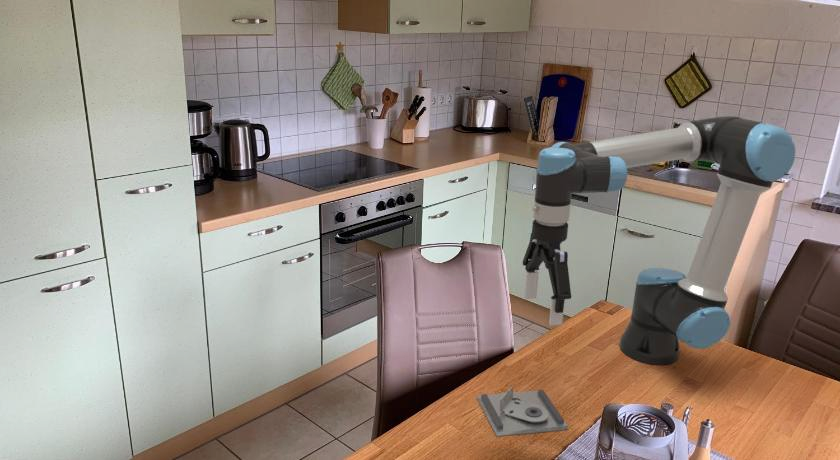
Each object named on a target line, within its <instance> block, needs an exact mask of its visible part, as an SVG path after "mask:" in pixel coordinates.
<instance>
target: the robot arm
mask: <svg viewBox="0 0 840 460" xmlns="http://www.w3.org/2000/svg"><path fill="white" fill-rule="evenodd" d="M795 158H796V146H795V142H794V141H793V136H791V135H790V133H789V132H788V131H787V130H786V129H784V128H782V127H779V126H776V125H775V124H774V125H773V124H771V123H767V122H761V121H756V120H751V119H746V118H742V117H738V116H735V115H734V116H732V115H731V116H717V117H716V116H715V117H710V118H703V119H697V120H692V121H690V120H689V121H686V122H683V123H681V124H680V125H678V127H675V128H669V129H662V130H657V131H649V132H645V133H643V132H642V133H638V134H631V135H625V136H620V137H619V136H618V137H613V138H605V139H600V140H593V141H588V142H582V143H581V142H580V143H571V142H567V141H566V142H565V141H558V142H556V143H554V144H553V145H552V146H551V147H545V148H543V149H542V150H540V152H539V154H538V159H537V165H536V166H537V167H536V170H535V171H536V180H535V194H534V196H535V197H534V204H533V207H532V211H533V219H534V220H532V226H531V233H530V238H529V243H528V245H527V248H526V251H525V254H524V257H523V260H522V265H523V266H525V271H526V274H525V287H524V299H525V300H532V299H537V297H538V285H539V284H538V283H539V273H540V272H539V271H540V266H541V265H542V263H544V267H545V269H546V270H547V271H548V275H549V279H550V284H551V288H552V293H553V295H552V296H550V298H551V299H550V308H549V309H550V310H549V318H548V319H549V321H548V325H549V326H550V327H552V326H559V325H563V320H564V307H565V300H571V299H572V292H571V283H570V274H569V266H568V265H569V264H568V259H569V257H568V256H569V253H568V252H567V251H561V244H562V243H563V242H565V241H566V240H567V239H568V233H569V232H568V231H569V223H568V222H569V221H570V211H571V201H572V195H573V194H591V193H592V194H594V193H607V194H608V193H610V192H617V191H618V192H619V191H620V190H622V189H623V188H624V187H625V185H626V183H627V180H628V169H630V168H631V169H632V168H636V167H643V166H647V165H654V164H659V163H667V162H671V161H677V160H683V161H685V162H687V163H688V162H689V163H691V162H697V161H698V162H700V161H701V162H708V163H713V164H716V165H719V166H718V170H717V172H716V175H717V178H718V179H719V181H720V184H719V187H718V191H717V193H716V196H715V199H714V201H713V204H712V206H711V210H710V212H709V216H708V218H707V220H706V224H705V227H704V229H703V231H702V235H701V237H700V241H699V243H698V245H697V248H696V251H695V253H694V257H693V259H692V262H691V264H690V268H689V270H688V273H687V276H686V275H685V274H684V272H680V271H678V270H674V269H670V268H659V267H657V268H656V267H654V268H653V267H652V268H646V269H643V270H641V271H640V272H639V274H637V275H638V277H637V279H636V281H635V291H634V296H633V304H632V310H631V316H630V320H629V322H628V324H627V326H626V327H625V329H624V332H623V333H622V334H621V336H620V339H619V348H620V350H621V351H622V352H623V354H625V355H626V356H628V357H629V358H630V359H633V360H636V361H638V362H641V363H645V364H650V365H659V366H662V365H669V364H673V363H675V362H676V361H677V360H678V359H679V354H680V344H679V341H680V342H682V343H684V344H686V345H687V346H689V347H691V348H694V349H699V350H700V349H707V348H709V347H712V346H714V345H715V344H718V343H719V342H720V341H721V340H723V338H724V337H725V336H726V335H727V333H728V331H729V329H730V327H731V318H730V315H729V312H727V310H726V306H727V303H728V300H729V297H728V294H727V293H726V292H725V288H726V286H727V283H728V280H729V277H730V275H731V272H732V269H733V267H734V264H735V262H736V259H737V256H738V254H739V251H740V248H741V246H742V243H743V241H744V238H745V235H746V233H747V229H748V227H749V225H750V222H751V220H752V217H753V215H754V211H755V209H756V206H757V204H758V201H759V199H760V196H761V194H762V193H764V192H766V191H769V190H770V189H771V188H772V185H773V183H774V182H776V181H779V180H781V179H783V178H784V176H785V175H787V174H788V173H789V171H790V170H792V167H793V165H794V162H795Z"/></svg>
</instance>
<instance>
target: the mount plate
mask: <svg viewBox="0 0 840 460" xmlns="http://www.w3.org/2000/svg"><path fill="white" fill-rule="evenodd" d="M505 393H506V392H502V393H491V394H489V393H488V394H487V393H481V394H478V395H477V401H478V402H479V406H480V407H481V408H482V410H483V413H484V415H485V416H486V418H487V420H488V422H489V424H490V426H491V428H492V430H493V432H494V434H495V436H496V437H504V436H514V435H525V434H536V433H548V432H557V431H567V430H568V427H569V426H568V424H567V422H566V420H565V419H564V418H563V416H562V415H561V413H560V412H559V410H558V409H557V408H556V407H555V405H554V403H553V402H552V400H551V399H550V398H549V396H548V394H547V393H546V392H545V390H544V389H538V390H529V391H527V390H526V391H515V392H514V391H513V398H512V400H514V401H515V400H519V401H523V402H527V403H530V404H534V405H538V406H541V407H543V408H545V409H546V410H547V411H548V412H549V417H548V418H547V419H546V420H545V421H542V422H529V421H525V420H522V419H518V418H515V417H512V416H508V415H505V414H504V412H502V411H501V412H500V399H501V398H502V397H503V396H504V394H505ZM510 394H511V392H510ZM515 404H519V403H515ZM509 413H510V414H512V413H513V411H511V412H509ZM533 414H534V413H533Z"/></svg>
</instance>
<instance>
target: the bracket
mask: <svg viewBox="0 0 840 460" xmlns="http://www.w3.org/2000/svg"><path fill="white" fill-rule="evenodd" d="M513 392H514V386H511V387H510V388H508V390H507V391H505V392H504V393H505V394H504V396H503V397H502V398H501V399H500V412H501V411H502V412H504V414H505V415H508V416H512V417H515V418H518V419H522V420H525V421H529V422H542V421H545V420H546V419H547V418H548V417H549V412H548V411H547V410H546V409H545V408H543V407H541V406H538V405H534V404H530V403H527V402H523V401H519V400H515V401H514V400H512V398H513ZM510 393H511V394H510ZM515 403H519V404H515ZM511 411H513V413H512V414H510V413H509V412H511ZM533 413H534V414H533Z"/></svg>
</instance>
